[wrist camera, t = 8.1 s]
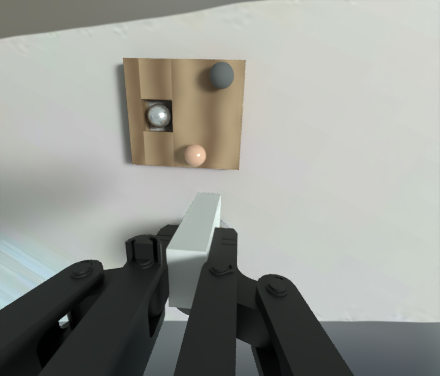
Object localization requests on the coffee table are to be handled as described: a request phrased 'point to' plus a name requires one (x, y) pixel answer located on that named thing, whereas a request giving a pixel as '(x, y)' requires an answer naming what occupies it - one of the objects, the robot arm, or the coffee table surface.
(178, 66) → the wooden flat board
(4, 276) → the coffee table surface
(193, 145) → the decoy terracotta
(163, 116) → the steel ball
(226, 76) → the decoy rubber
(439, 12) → the coffee table surface
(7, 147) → the coffee table surface
